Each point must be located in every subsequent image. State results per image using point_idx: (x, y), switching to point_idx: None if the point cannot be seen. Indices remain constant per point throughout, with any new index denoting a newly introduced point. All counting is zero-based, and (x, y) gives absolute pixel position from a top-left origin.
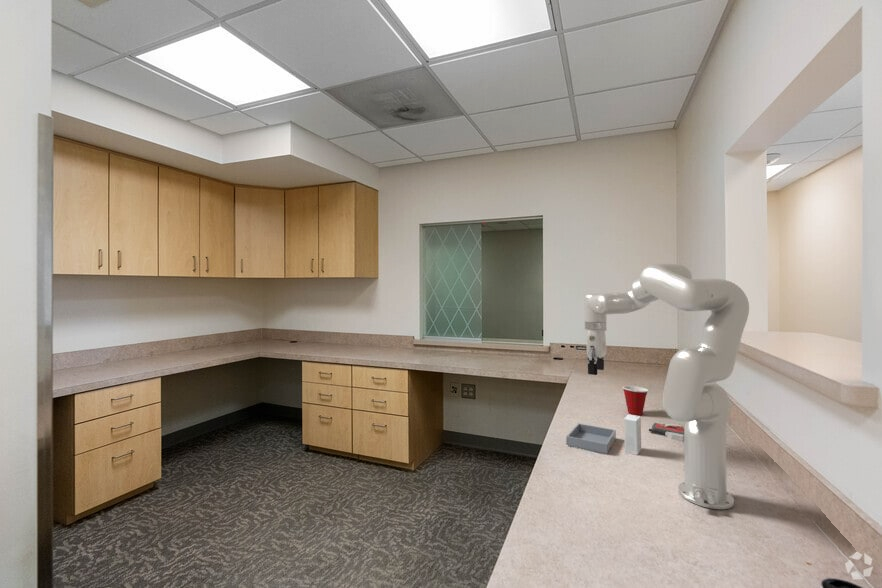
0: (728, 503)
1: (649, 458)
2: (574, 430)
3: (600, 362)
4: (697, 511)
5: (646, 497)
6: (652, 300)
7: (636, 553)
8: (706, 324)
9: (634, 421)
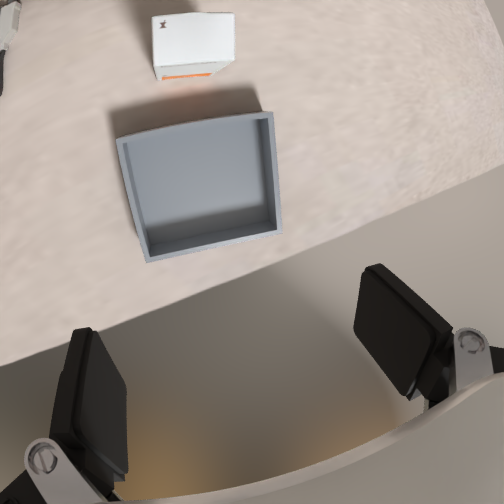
0: None
1: None
2: (209, 242)
3: (99, 417)
4: None
5: (402, 18)
6: None
7: (489, 48)
8: None
9: (234, 20)
